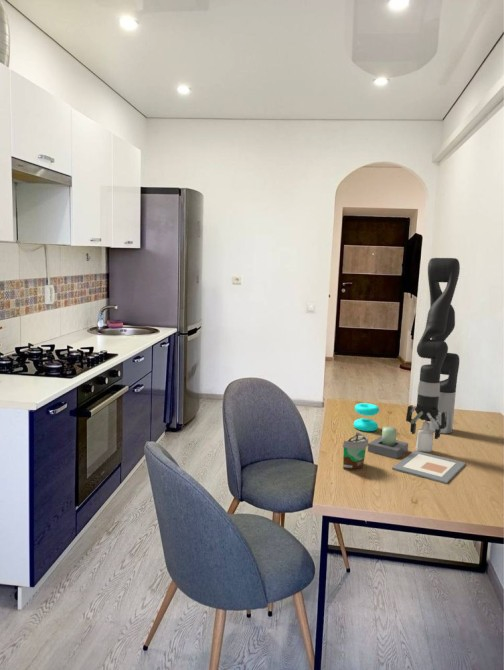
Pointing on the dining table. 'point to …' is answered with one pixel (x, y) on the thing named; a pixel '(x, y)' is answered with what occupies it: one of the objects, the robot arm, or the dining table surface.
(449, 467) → the sketch board
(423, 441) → the eye dropper bottle
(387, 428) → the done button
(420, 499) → the dining table surface
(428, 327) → the robot arm
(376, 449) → the button housing
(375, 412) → the donuts
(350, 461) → the food container
